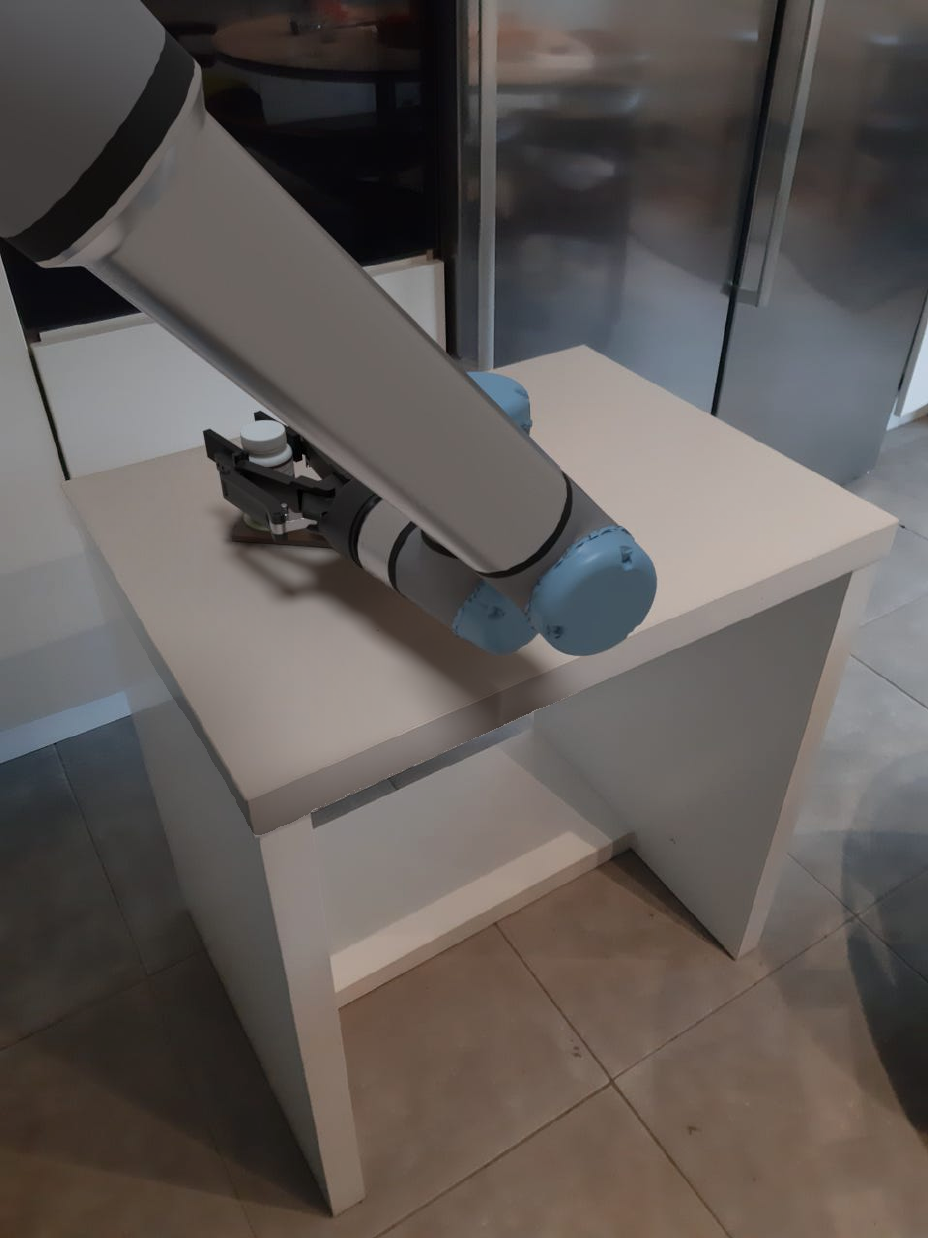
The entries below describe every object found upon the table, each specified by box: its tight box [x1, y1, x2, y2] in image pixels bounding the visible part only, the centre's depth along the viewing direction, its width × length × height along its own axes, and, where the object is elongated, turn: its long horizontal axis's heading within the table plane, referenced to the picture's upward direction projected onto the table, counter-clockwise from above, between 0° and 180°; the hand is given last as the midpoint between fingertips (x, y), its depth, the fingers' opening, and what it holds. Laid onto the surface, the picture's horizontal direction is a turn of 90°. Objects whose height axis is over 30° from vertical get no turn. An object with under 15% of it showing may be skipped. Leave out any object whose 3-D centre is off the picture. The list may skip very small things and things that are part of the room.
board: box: [230, 512, 334, 549], centre depth 93 cm, size 18×8×2 cm, turn 83°
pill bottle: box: [239, 420, 296, 512], centre depth 90 cm, size 5×5×8 cm
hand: (234, 433), depth 92 cm, fingers closed on pill bottle, 5 cm apart
